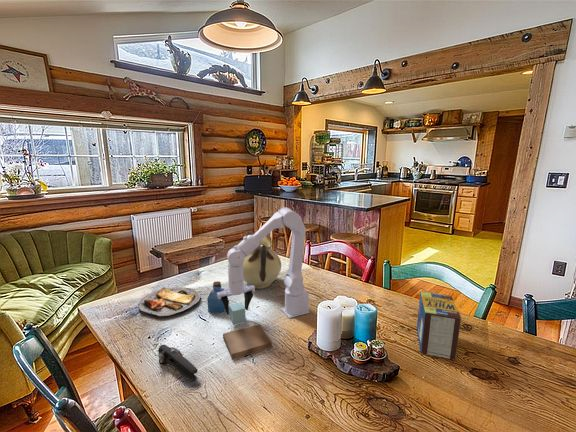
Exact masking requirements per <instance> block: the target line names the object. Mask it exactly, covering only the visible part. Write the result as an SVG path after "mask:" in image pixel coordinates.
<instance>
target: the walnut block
mask: <svg viewBox="0 0 576 432" xmlns="http://www.w3.org/2000/svg"><path fill="white" fill-rule="evenodd" d="M222 339H224V340H223V342H224V344H225V346H226V349H227V352H228V354H229V356H230V359H231V360H235V359H238V358H239V359H240V358H242V357H245V356H249V355H251V354H256V353H257V352H261V351H265V350H267V349H270V348H272V347H273V341H272V339H271V338H270V337H269V336H268V334H267V332H266V331H265V330H264V328H263V327H262V325H261V323H257V324H254V325H250V326H247V327H242V328H240V329H235V330H232V331H228V332H223V334H222Z"/></svg>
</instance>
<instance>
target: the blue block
mask: <svg viewBox="0 0 576 432" xmlns="http://www.w3.org/2000/svg"><path fill="white" fill-rule="evenodd" d="M229 320H230V322H231V323H232V326H235V325H240V324H243V323H246V309H245V305H244V304H243V302H238V303H233V304H230V305H229Z"/></svg>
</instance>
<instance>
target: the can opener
mask: <svg viewBox="0 0 576 432" xmlns="http://www.w3.org/2000/svg"><path fill="white" fill-rule="evenodd" d="M157 350H158V351H157V352H158V353H157V356H158V364H159V365H160V366H171V367H172V368H173V369H174V370H176V372H177V373H179V374H180V375H181V376H182V377H184V378H185V379H186V380H188V381H191V382H195V381H196V380H197V376H196V374H197V373H198V371H199V370H198V368H197V367H196V366H195V365H194V364H193V363H191V361H189V360H188V358H186V357H185V356H183V354H182V352H181V351H180V350H179V349H178V348H176V347H173V346H172V347H169V345H167V344H161V345H159V347H158V349H157Z"/></svg>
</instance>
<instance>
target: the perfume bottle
mask: <svg viewBox="0 0 576 432" xmlns="http://www.w3.org/2000/svg"><path fill="white" fill-rule="evenodd" d="M221 283H222V282H221V281H214V282H213V283H212V284H213V285H212V290H211V291H210V293H209V295H208V297H206V298H207V313H214V314H223V313H224V312H225V311H226V310H225V306H224V304H223V302H222V300H221V299H218V297H217V292H221V291H224V290H225V289H224V288H223V287H222V284H221ZM227 297H228V298H229V296H227Z"/></svg>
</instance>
